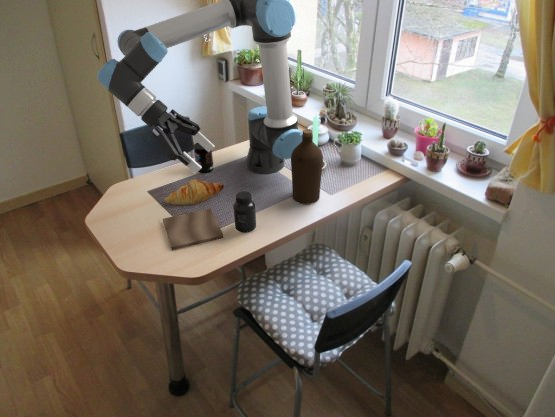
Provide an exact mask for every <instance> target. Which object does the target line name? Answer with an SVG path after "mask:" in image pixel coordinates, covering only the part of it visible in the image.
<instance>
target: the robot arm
mask: <svg viewBox="0 0 555 417" xmlns="http://www.w3.org/2000/svg"><path fill="white" fill-rule="evenodd" d="M296 10H297V9H296V7H295V4H294V2H293V1H292V0H218V1H217V2H213V3H211V4H207V5H204V6H202V7H200V8H196V9H193V10H191V11H188V12H186V13H182V14H180V15H177V16H173V17H169V18H167V19H165V20H161V21H159V22H155V23H153V24H150V25H148V26H145V27H141V28H139V29H135V30H134V29H125V30H123V31H122V32H120V33H119V35H118V36H117V40H116V41H117V47H118V49H119V51H120V52H121V53H122V55H123V57H122V58H121V59H120V61H119V60H116V59H115V58H111V59H109V60H107V62H106V63H104V64H103V66H102V67H101V68H100V70H99V71H98V72H97V74H96V78H97V81H98V82H99V83H100V84H101V85H102V86H103V87H104V88H105V89H106V90H107V91H108V92H110V93H111V94H112V95H113V96H114V97H115V98H116V99H117V100H119V101H120V102H121V103H122V104H123V105H124V106H126V107H127V108H128V109H129V110H130V111H131V112H133V113H134V114H135V115H136V117H140V120H141V121H142V122H144V124H146V125H147V126H148V127H151V128H152V127H154V128H153V129H152V130H151V135H153V136H154V138H156V140H157V141H158V143H159V145H160V146H161V148H162V149H163V151H164V152H165V154H166V155H167V156H168V158H169V159H170V161H177V160H178V161H180V162H181V163H182V164H183V165H184V166H185V167H187V168H188V169H189V170H190V171H192V173H194V174H195V175H196V174H197V173H199V172H198V171H199V170H200V169H201V168H202V167H201V166H200V165H199V164H198V163H197V162H196V161H195V159H193V157H191V155H189V154H188V153H187V152H186V151H182V149H181V147H180V145H179V143H178V140H177V138H176V136H175V132H176V131H178V132H181V133H184V134H187V135H190V136H192V138H193V140H195V141H196V143H199V144H200V145H201V146H202V147H203V148H204V149H206V150H207V151H208V152H210V151H211V150H212V151H213V149H214V148H215V147H216V146H215V144H213V143H212V142H211V141H210V140H209V139H208V138H207V137H206V136H205V135H204V134H202V133H201V132H200V130H201V127H200V125H199V124H197V123H196V122H194V121H193V120H191V119H189V118H187V117H185V116H184V115H182V114H180V113H178V111H176V110H175V109H173V108H172V109H171V110H170V111H169V112H167V111H168V106H167V105H166V104H165V103H163V101H162V100H160V99H157V96H156V95H155V93H152V91H151V90H149V89H148V88H147V87H146V86H145V85H144V84H143V83H142V82H143V81H144V80H145V79H146V78H147V76H149V75H150V74H151V72H152V71H153V70H154V69H155V68H156V67H157V66H158V65H159V64H160V63H161V62H163V59H164V58H165V56H167V54H168V52H169V51H168V49H169V48H171V47H174V46H178V45H180V44H183V43H186V42H189V41H191V40H195V39H197V38H200V37H203V36H205V35H208V34H210V33H213V32H216V31H219V30H222V29H225V28H227V27H229V28H231V29H234V28H237V27H243V26H248V27H251V31H252V39H253V40H252V41H253V42H254V43H256V44H257V45H258V47H259V48H258V49H259V57H260V65H261V74H262V82H263V89H264V90H263V91H264V98H265V105H263V106H258V107H256V106H255V107H254V108H252V109H249V111H248V112H247V121H248V122H247V123H248V138H249V149H248V152H247V155H246V158H245V163H246V164H245V166H246V168H247V169H248V170H249V171H251V172H252V173H256V174H261V175H262V174H263V175H264V174H265V175H266V174H273V173H277V172H279V171H281V170H282V169H283V168H284V167H285V165H286V164H285V163H286V162H285V160H291V155H292V152H293V150H294V148H295V147H296V146H298V145H299V144H300V143H301V142H302V134H303V131H301V130H300V129H299V121H298V116H297V115H296V114H295V113H294V112H293V106H292V104H293V103H292V94H291V93H292V92H291V80H290V79H291V78H290V69H289V57H288V44H287V43H288V41H289V40H290V39H291V38H292V34H291V33H292V30H293V27H294V26H295V24H296V21H297V20H296V19H297V11H296Z"/></svg>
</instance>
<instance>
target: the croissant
mask: <svg viewBox="0 0 555 417" xmlns="http://www.w3.org/2000/svg"><path fill="white" fill-rule="evenodd" d="M224 187H225V186H224V184H223V183H222V182H220V183H217V182H211V183H210V181H209V182H208V181H206V180H205V181H204V180H200V179H197V178H196V179H191V180H189V181H188V182H187V183H186V184H183V185H182V186H180V187H179V189H177V190H174V191H172V192H171V193H170V194H169V195H168V196H166V197H164V199H163V200H164V202H165V203H167V204H170V205H180V206H181V205H182V206H186V205H187V206H188V205H189V206H190V205H195V204H198V203H199V204H200V203H203V202H206V201H207V200H208V199H211V198H212V197H214V196H216V195H218V194H219V193H220V192H221V191H222V190H223V189H224Z"/></svg>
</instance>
